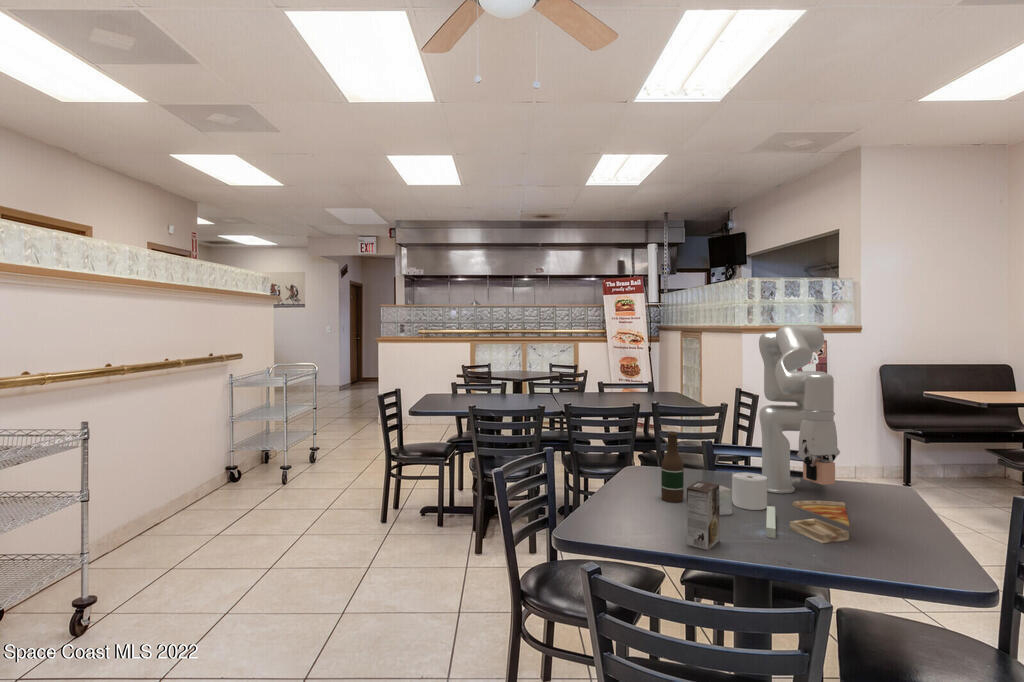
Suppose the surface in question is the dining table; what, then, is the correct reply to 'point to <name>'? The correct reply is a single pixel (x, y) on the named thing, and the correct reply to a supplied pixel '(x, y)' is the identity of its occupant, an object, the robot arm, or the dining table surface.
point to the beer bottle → (672, 472)
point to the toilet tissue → (749, 491)
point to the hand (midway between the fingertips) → (818, 477)
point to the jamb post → (725, 500)
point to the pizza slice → (826, 510)
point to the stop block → (822, 472)
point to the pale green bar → (770, 522)
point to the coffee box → (703, 515)
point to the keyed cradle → (819, 530)
